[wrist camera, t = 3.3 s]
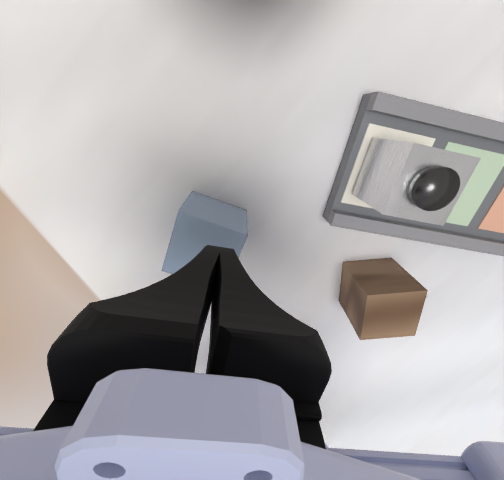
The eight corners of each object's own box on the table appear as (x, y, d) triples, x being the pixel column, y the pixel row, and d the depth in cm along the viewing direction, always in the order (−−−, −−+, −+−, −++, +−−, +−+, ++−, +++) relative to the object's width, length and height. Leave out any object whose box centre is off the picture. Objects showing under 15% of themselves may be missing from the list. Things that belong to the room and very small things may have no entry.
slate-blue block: (228, 255, 22) (224, 289, 18) (178, 239, 22) (161, 270, 17) (246, 210, 21) (247, 235, 16) (192, 190, 20) (178, 211, 15)
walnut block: (383, 296, 25) (414, 335, 21) (338, 300, 25) (360, 339, 21) (391, 257, 23) (427, 290, 19) (342, 261, 23) (367, 295, 19)
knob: (400, 203, 19) (450, 229, 15) (351, 194, 19) (387, 217, 14) (425, 149, 18) (491, 159, 13) (372, 137, 17) (421, 143, 13)
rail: (507, 249, 23) (531, 261, 21) (322, 216, 21) (331, 225, 19) (579, 148, 20) (615, 151, 18) (363, 94, 17) (378, 91, 16)
